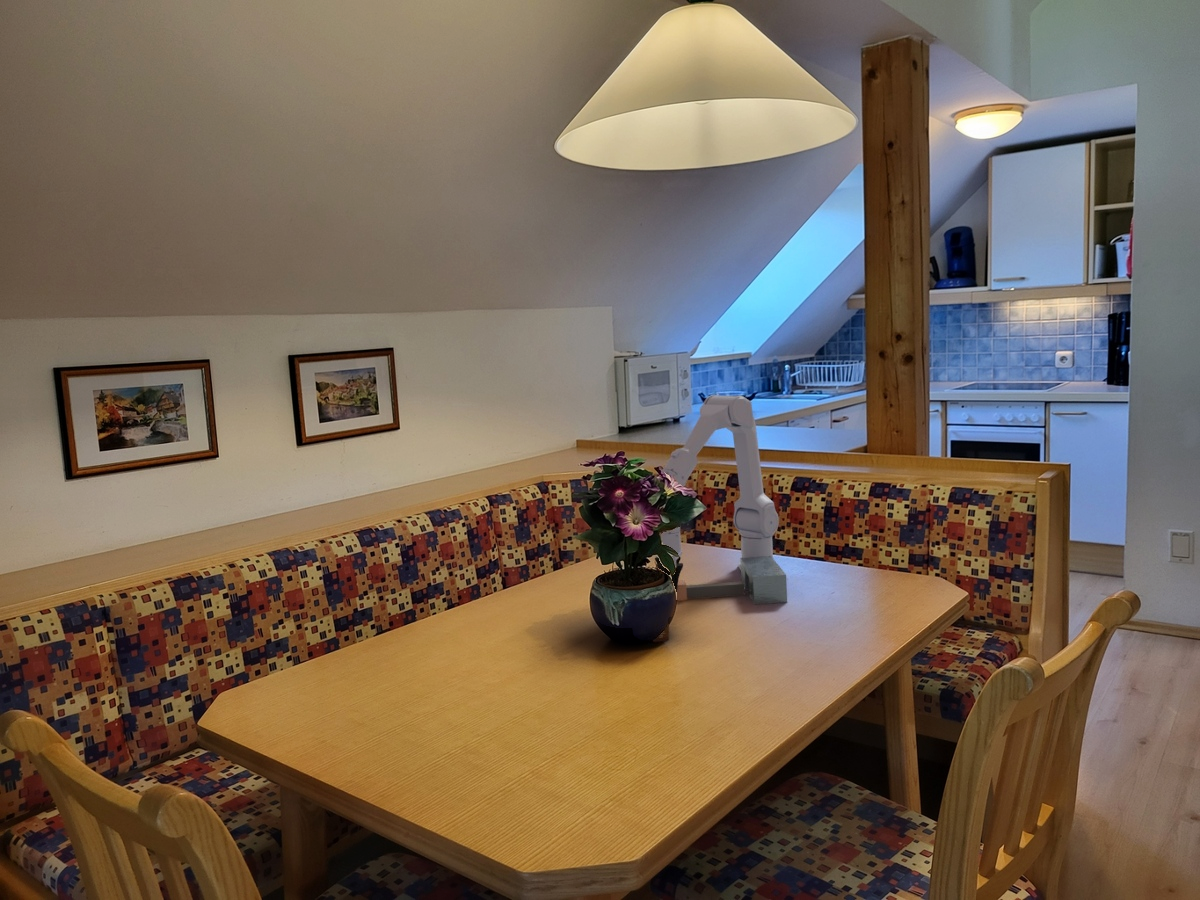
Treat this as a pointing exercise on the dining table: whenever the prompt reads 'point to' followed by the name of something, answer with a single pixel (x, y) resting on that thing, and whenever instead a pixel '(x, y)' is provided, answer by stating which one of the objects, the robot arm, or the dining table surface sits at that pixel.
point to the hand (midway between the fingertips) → (670, 591)
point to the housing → (764, 580)
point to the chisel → (708, 590)
